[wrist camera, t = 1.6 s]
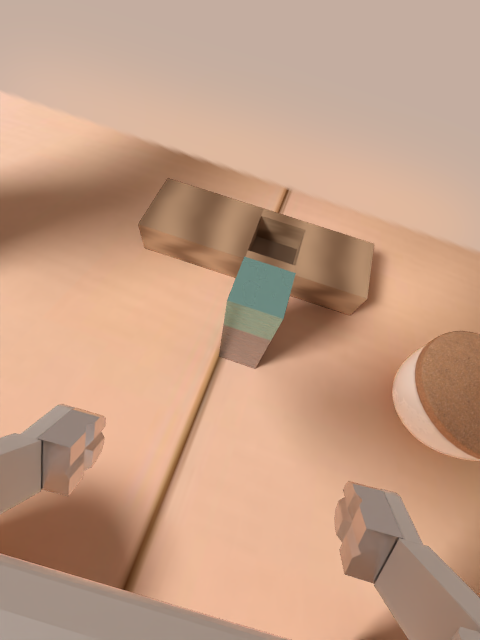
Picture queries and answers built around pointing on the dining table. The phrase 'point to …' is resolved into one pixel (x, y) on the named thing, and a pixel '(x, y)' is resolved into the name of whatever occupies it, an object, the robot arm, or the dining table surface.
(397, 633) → the dining table surface
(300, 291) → the wooden peg hole block
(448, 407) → the lidded jar
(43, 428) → the robot arm
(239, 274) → the teal square peg
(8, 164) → the dining table surface
